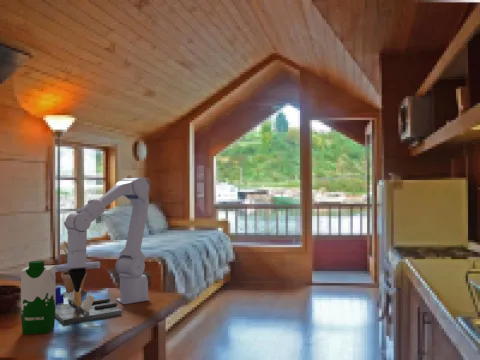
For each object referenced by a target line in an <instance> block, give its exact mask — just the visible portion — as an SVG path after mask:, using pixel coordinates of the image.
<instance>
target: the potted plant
mask: <svg viewBox="0 0 480 360" xmlns="http://www.w3.org/2000/svg"><path fill="white" fill-rule="evenodd" d="M63 243H64V246H65V248H66V249H63V251H64V253H62V255H63V258H64V259H65V261H64V263H63V264H68V252H67V251H68V243H66V240H63ZM66 250H67V251H66ZM88 255H89V254H88V253H86V258H87V257H88ZM80 268H82V267H80ZM71 269H72V268H71ZM87 275H88V273H87V270H86V274H85V276H84V278H83V280H82V283H81V286H80V288H81V289H82V290H81V292H82V291H83V288H84V284H85V280H86V276H87ZM60 278H61V279H62V281H63V283H64V288H65V291H66V293H73V291H74V285H73V282H72V279H71V277H70V275H69V273H68V271H62V272H61V273H60Z"/></svg>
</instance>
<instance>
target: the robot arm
mask: <svg viewBox="0 0 480 360" xmlns="http://www.w3.org/2000/svg"><path fill="white" fill-rule="evenodd" d="M149 191H150V185H149V183H148V182H147V180H146V179H145V178H143V177H133V178H132V177H131V178H129V177H124V178H121V180H118V181H117V182H116V183H115V185H114V186H112V187H111V188H110V189H109V190H108V191H107V192H105V193H104V195H102V196H101V197H100V198H93V199H89V200H87V204H84V205H83V206H82V207H81V208H77V209H76V212H71V213H70V214H68V215H67V216H66V218H65V221H63V224H64V227H65V229H66V231H67V232H66V233H67V246H68V250H67V254H68V257H67V259H68V263H66V264H65V263H62V264H55V273H57V272H58V273H59V272H67V271H68V273H69V275H70V277H71V279H72V282H73V285H74V290H75V292H79V290H80V286H81V283H82V280H83V278H84V276H85V274H86V271H87V270H88V269H89V270H90V269H101V262H100V261H87V257H86V255H87V230H89V229H90V227H91V224H92V222H94V221H95V220H96V219H97V218H99V217H100V216H101V215H102V214H104V213H105V211H106V210H105V209H106V207H107V206H109V205H110V204H112V203H114V202H115V201H116V200H117V199H119V198H120V197H122V196H124V197H125V198H126V199H127V200H128V201H130V203H131V205H132V210H131V215H130V221H129V226H128V229H127V230H128V232H127V237H126V243H125V247H124V248H123V249H122V250H121V251H120V252H119V255H118V258H117V260H115V261H116V262H115V270H116V272H117V273H118V276H119V297H118V298H115V300H116V301H118V302H119V303H121V304H123V305H129V304H134V303H140V302H145V301H146V302H148V301H149V300H150V299H149V281H148V277H147V275H146V274H143V273H144V272H145V268H146V264H145V254H144V253H143V252H142V250H141V249H142V243H143V238H144V234H145V233H144V232H145V228H146V223H147V216H148V211H149V206H150V197H149ZM80 267H81V268H80ZM71 268H72V269H71ZM85 277H86V276H85Z"/></svg>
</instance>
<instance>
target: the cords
mask: <svg viewBox="0 0 480 360" xmlns="http://www.w3.org/2000/svg"><path fill="white" fill-rule="evenodd" d="M105 302H109V303H111V298H107V299H106V298H104V300H98V301H93V303H92V304H98V303H105ZM114 306H116V307H118V303H117V302H113V303H111V304H107V305H100V306H95V307H94V309H102V308H108V307H114Z"/></svg>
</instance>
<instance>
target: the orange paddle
mask: <svg viewBox="0 0 480 360" xmlns="http://www.w3.org/2000/svg"><path fill="white" fill-rule="evenodd" d="M81 292H82V291H81ZM81 292H80V291H79V292H75V290H74V299H75V301H74V302H75V304H76V305H77V306H82V293H81Z"/></svg>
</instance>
